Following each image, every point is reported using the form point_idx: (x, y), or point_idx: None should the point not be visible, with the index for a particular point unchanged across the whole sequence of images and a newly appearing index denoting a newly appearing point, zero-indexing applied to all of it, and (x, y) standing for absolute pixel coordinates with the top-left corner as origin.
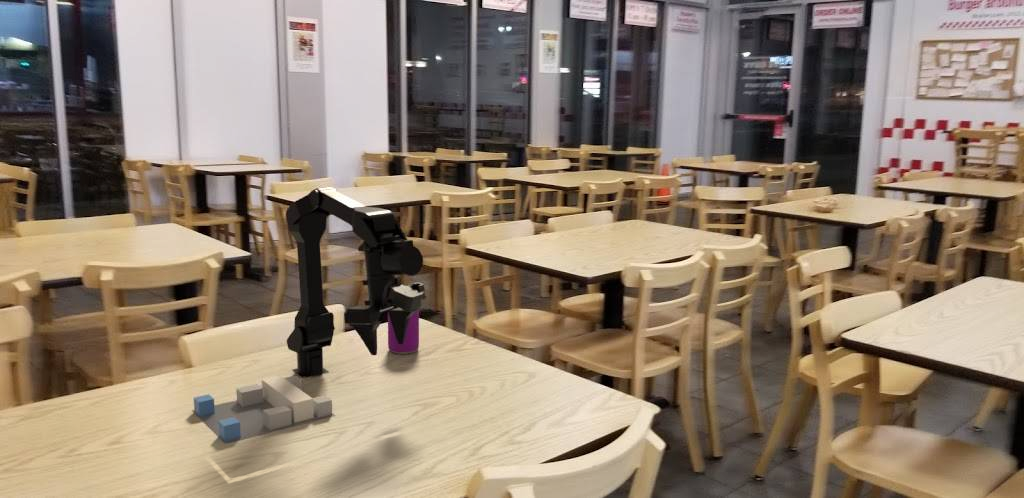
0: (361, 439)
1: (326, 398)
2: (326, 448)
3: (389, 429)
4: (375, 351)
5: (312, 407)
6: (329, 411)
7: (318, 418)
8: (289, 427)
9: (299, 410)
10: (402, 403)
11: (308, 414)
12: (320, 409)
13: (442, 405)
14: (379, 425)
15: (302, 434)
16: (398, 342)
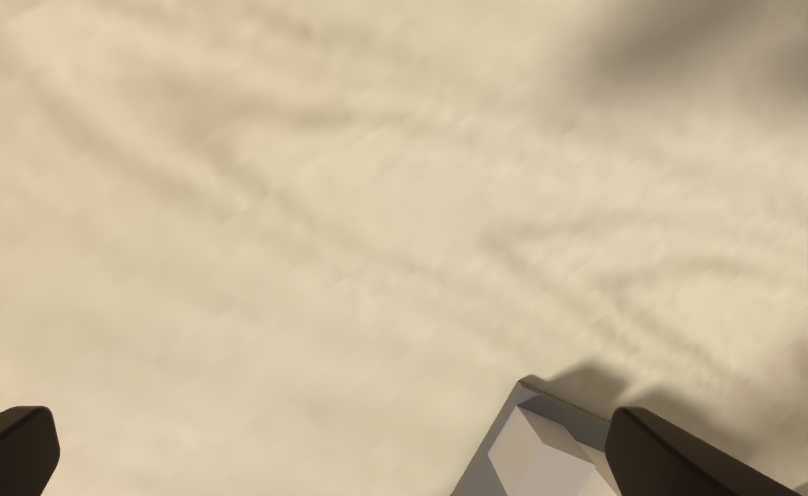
0: (644, 183)
1: (537, 472)
2: (742, 250)
3: (526, 133)
4: (680, 430)
5: (597, 469)
6: (531, 417)
7: (568, 420)
8: None
9: None
10: (252, 237)
11: (596, 457)
12: (572, 441)
13: (163, 38)
14: (508, 193)
15: (671, 388)
16: (44, 475)
